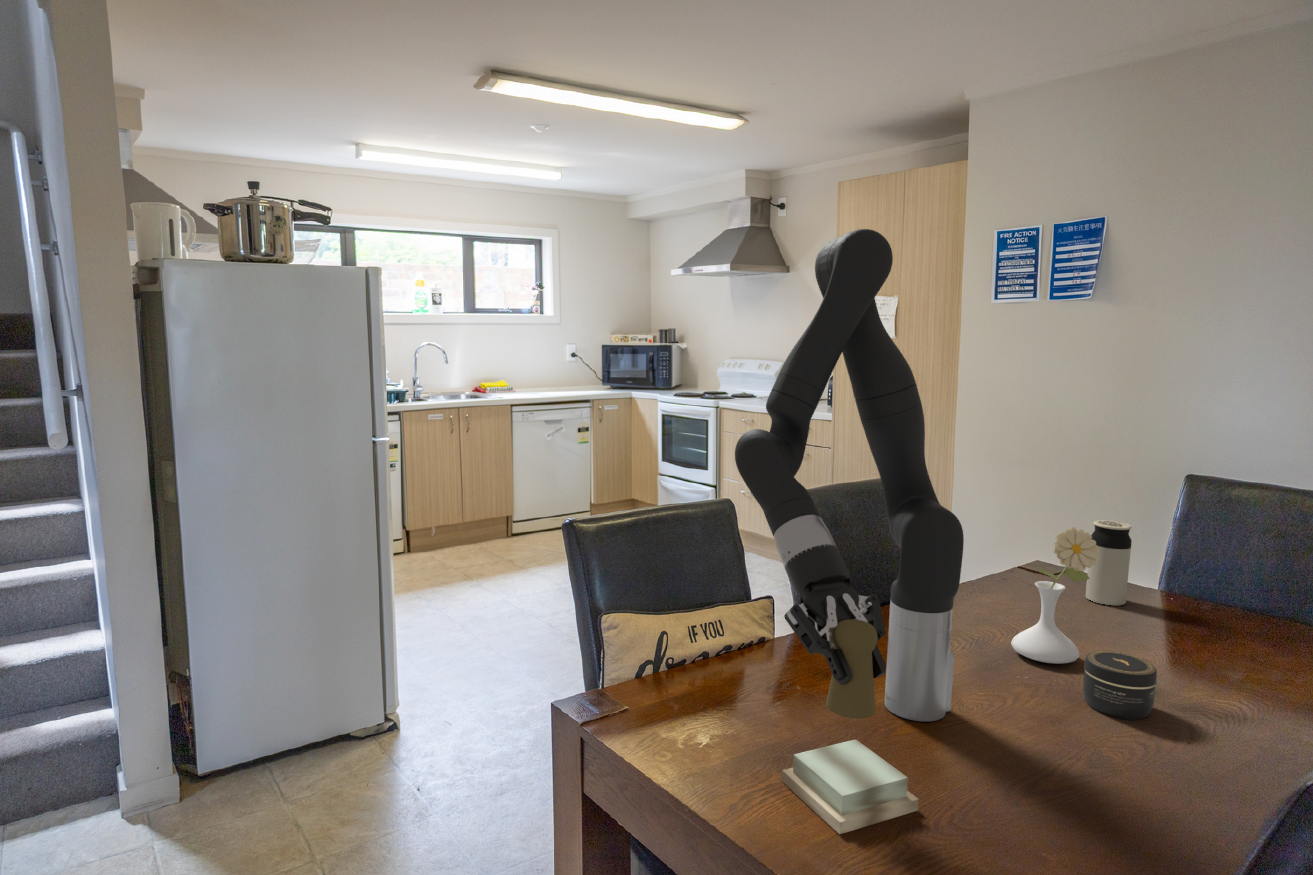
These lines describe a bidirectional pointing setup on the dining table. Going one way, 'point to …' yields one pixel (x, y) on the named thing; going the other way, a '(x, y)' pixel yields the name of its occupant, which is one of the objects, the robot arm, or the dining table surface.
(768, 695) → the dining table surface
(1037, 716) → the dining table surface
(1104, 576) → the travel mug
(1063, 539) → the flower in vase
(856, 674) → the cork
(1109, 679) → the jar
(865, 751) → the plinth
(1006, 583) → the dining table surface
